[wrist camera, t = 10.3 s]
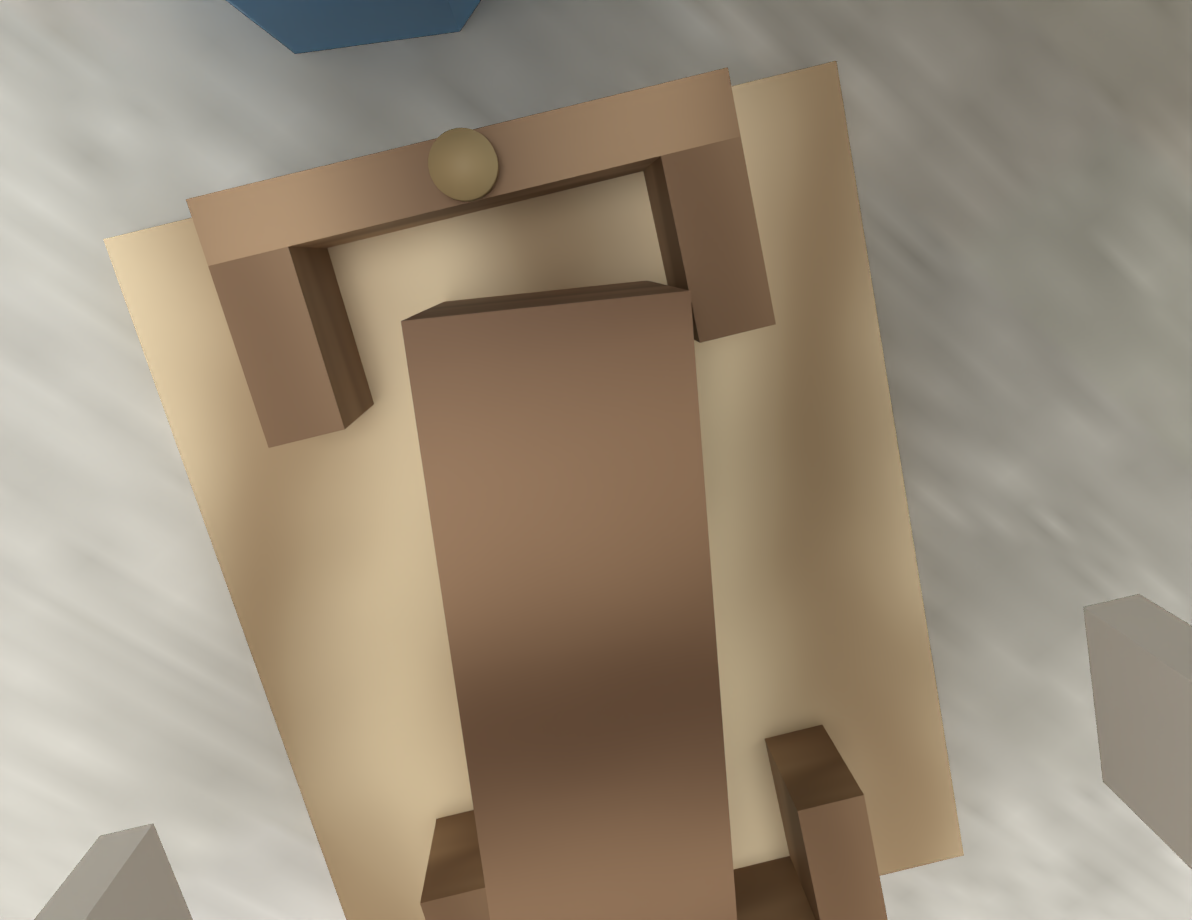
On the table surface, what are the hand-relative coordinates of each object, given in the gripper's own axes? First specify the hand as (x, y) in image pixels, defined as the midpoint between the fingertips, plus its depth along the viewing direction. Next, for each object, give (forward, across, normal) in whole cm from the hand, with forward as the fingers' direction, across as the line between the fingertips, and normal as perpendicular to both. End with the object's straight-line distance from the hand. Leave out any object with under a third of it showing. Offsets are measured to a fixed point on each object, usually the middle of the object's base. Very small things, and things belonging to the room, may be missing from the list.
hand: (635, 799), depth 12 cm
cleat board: (+10, -1, 0) cm, 10 cm away
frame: (+9, -1, 0) cm, 9 cm away
